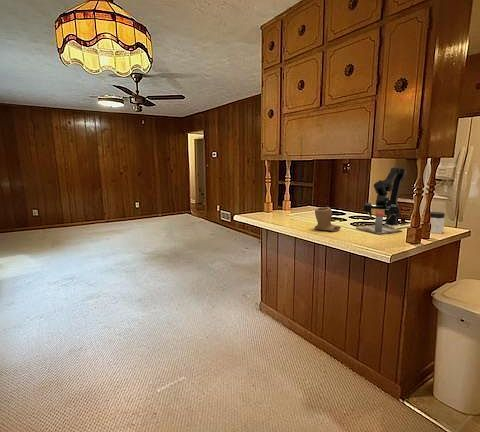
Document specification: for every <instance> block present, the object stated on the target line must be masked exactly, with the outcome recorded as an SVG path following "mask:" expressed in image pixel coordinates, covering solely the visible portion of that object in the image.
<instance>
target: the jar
mask: <svg viewBox="0 0 480 432" xmlns="http://www.w3.org/2000/svg"><path fill="white" fill-rule="evenodd" d="M430 212H431V234H439V233H440V234H443V233H444V229H445V219H446V218H445V215H446V213H445V212H443V211H430Z"/></svg>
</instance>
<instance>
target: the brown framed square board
mask: <svg viewBox="0 0 480 432" xmlns="http://www.w3.org/2000/svg"><path fill="white" fill-rule="evenodd" d="M355 230H359V231H363V232H366V233H371V234H374V235H378V236H383V235H389V234H398V233H402V232H403V230H401V229H396V228H395V227H394V226H391V225H390V226H389V225H387V224H386V225H385V224H384V225H383V224H382V232H375V224H373V225H365V226H356V227H355Z"/></svg>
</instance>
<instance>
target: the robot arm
mask: <svg viewBox="0 0 480 432" xmlns="http://www.w3.org/2000/svg"><path fill="white" fill-rule="evenodd" d="M407 174H408V171H407V170H406V169H405V168H401V167H391V169H390V171H389V173H388V174H387V176H386V178H385V179H384V180H378V181H376V182H375V183H374V184H373V188H374V191H375V193H376V200H375V205H373V204H372V203H371V202H365V203H364V204H363V209H364V211H365V212H366V213H367V214H368V215H369V217H370V219H372V217H373V216H372V209H373V210H374V209H375V210H380V211H382V210H384V211H383V212H384V216H386V222H384V225H385V224H386V225H388V226H389V225H390V226H398V225H399V223H398V217H401V211H400V205H399V203H398V199H399V195H400V191H401V190H400V189H401V185H402V182H403V181H404V180H405V179H406V176H407ZM388 192H390V195H388Z"/></svg>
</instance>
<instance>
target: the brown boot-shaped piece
mask: <svg viewBox="0 0 480 432" xmlns="http://www.w3.org/2000/svg"><path fill="white" fill-rule="evenodd" d="M332 210H333V209H332V208H331V207H329V206H326V207H323V206H321V207H317V208H315V210H314V217H315V219H316V222H317V225H315V226H314V229H315V230H321V231H328V232H337V231H339V230H340V229H341V228H342V227H341V226H340V225H335V224H332V223H331V222H332V216H333V211H332Z"/></svg>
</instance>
